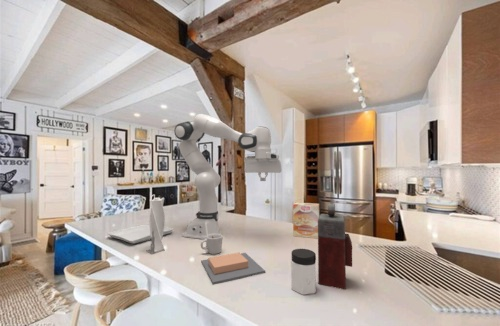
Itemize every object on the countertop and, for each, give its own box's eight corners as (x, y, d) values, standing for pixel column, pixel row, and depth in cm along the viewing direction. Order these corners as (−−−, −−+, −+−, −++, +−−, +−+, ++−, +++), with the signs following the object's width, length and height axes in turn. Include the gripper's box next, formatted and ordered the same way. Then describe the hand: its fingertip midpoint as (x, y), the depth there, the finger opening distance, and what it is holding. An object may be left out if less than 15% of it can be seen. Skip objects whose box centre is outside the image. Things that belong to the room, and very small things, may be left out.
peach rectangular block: (239, 258, 97) (208, 264, 92) (239, 252, 97) (208, 257, 92) (248, 267, 88) (214, 274, 82) (248, 261, 88) (214, 267, 83)
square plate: (174, 234, 137) (174, 228, 137) (131, 248, 114) (131, 240, 114) (149, 228, 151) (149, 222, 151) (106, 239, 128) (106, 232, 128)
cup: (203, 257, 100) (203, 240, 100) (198, 251, 107) (198, 235, 107) (225, 253, 105) (225, 236, 105) (219, 248, 112) (219, 232, 112)
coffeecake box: (293, 236, 132) (292, 203, 132) (294, 232, 138) (294, 202, 139) (319, 239, 126) (318, 205, 127) (319, 235, 133) (319, 203, 133)
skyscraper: (144, 250, 110) (145, 194, 111) (160, 246, 116) (160, 193, 116) (151, 255, 104) (152, 196, 105) (167, 250, 110) (168, 194, 111)
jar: (296, 296, 70) (296, 258, 70) (286, 283, 78) (286, 249, 78) (321, 292, 72) (321, 256, 72) (309, 280, 80) (309, 247, 80)
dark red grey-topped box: (353, 291, 73) (352, 207, 74) (318, 284, 77) (317, 205, 78) (352, 278, 81) (351, 203, 82) (320, 272, 86) (319, 201, 86)
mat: (201, 262, 95) (201, 260, 95) (245, 254, 104) (245, 252, 104) (213, 284, 77) (212, 282, 77) (265, 272, 86) (265, 270, 86)
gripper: (243, 155, 118) (243, 181, 118) (281, 155, 115) (281, 181, 115) (245, 156, 124) (245, 180, 124) (281, 156, 122) (281, 180, 121)
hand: (263, 181), depth 120 cm, fingers closed
